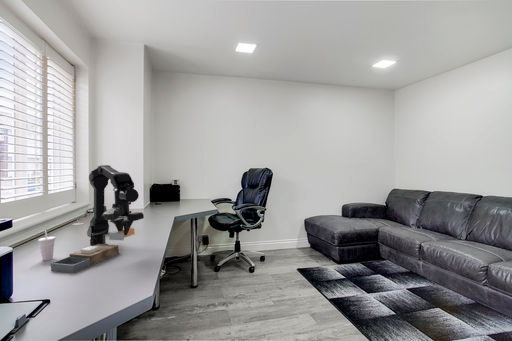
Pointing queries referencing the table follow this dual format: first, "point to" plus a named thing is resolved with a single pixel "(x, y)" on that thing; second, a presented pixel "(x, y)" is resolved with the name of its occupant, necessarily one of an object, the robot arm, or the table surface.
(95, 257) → the tan block
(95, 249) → the tile
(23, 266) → the table surface
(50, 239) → the smoothie
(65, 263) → the box
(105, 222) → the robot arm
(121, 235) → the scraper
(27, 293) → the table surface
